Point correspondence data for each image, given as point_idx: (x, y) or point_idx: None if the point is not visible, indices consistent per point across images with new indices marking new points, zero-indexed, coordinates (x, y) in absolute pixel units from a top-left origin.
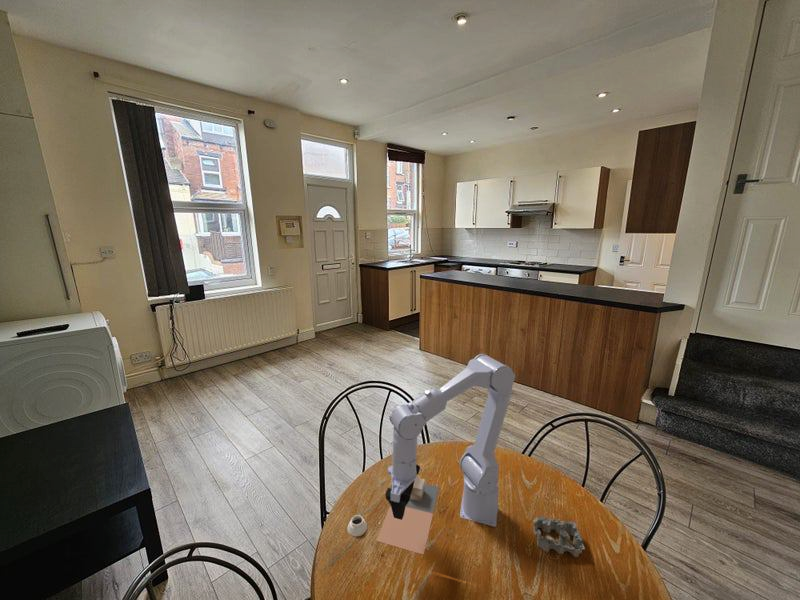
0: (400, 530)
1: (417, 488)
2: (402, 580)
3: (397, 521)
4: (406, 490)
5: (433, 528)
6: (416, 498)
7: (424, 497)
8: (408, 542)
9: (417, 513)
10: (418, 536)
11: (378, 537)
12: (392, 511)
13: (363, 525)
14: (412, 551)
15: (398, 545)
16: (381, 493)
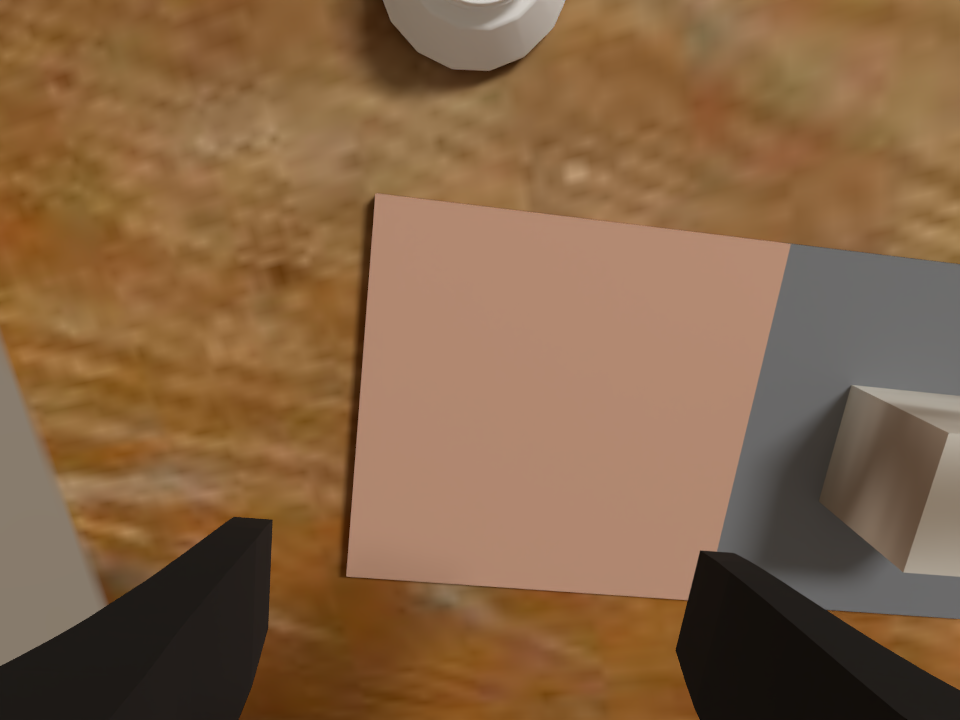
0: (512, 381)
1: (916, 531)
2: (137, 458)
3: (595, 340)
4: (716, 641)
5: (584, 605)
6: (841, 470)
7: None
8: (417, 461)
9: (694, 488)
10: (483, 524)
11: (411, 207)
12: (170, 563)
13: (455, 27)
14: (352, 500)
15: (374, 391)
16: (913, 113)
